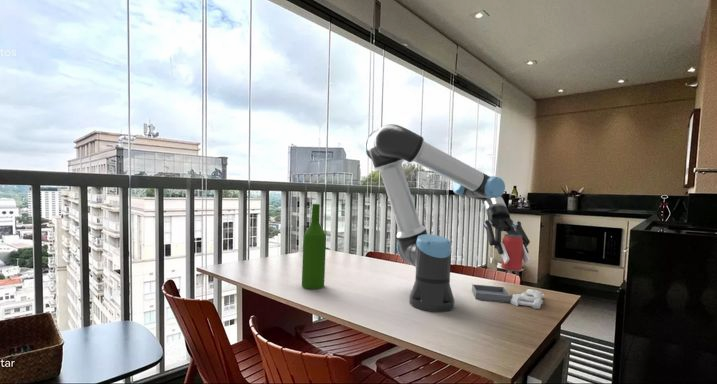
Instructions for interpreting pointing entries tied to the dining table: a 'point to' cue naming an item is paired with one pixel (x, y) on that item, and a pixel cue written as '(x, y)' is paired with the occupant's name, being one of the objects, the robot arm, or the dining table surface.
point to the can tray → (491, 293)
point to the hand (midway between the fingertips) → (517, 261)
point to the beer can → (513, 252)
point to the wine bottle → (314, 253)
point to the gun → (528, 298)
